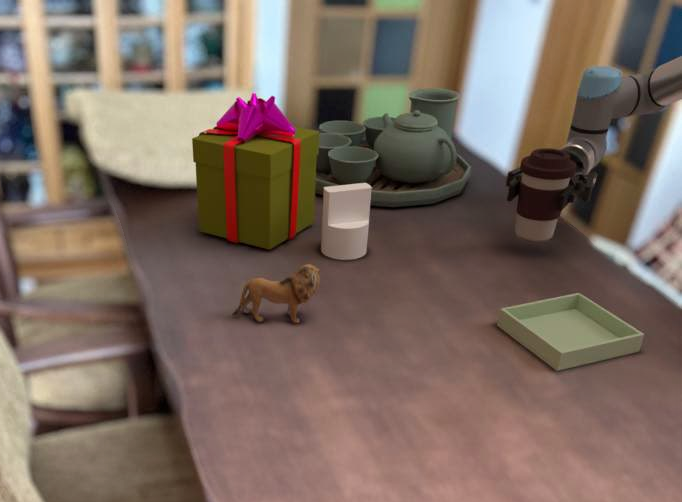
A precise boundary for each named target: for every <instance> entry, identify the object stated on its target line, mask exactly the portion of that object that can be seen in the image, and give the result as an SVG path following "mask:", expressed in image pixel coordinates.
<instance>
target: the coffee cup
mask: <svg viewBox="0 0 682 502" xmlns="http://www.w3.org/2000/svg"><path fill="white" fill-rule="evenodd" d="M519 167H520V170H521V172H523V173H522V179H521V180H520V186H519V194H518V195H517V201H516V210H515V211H516V218H515V228H514V234H515V235H516V236H517V237H518V238H520V239H522V240H525V241H530V242H545V241H549V240H550V239H552V238H553V236H554V233H555V231H556V227H557V224H558V220H559V218H560V216H561V214H562V211H558V210H557V209H558V205H559V201H560V196H561V195H562V194H563V193H564V192H565V191H566V189H568V187H569V180H570V177H572V176H574V174H575V171H576V167H577V166H576V163H575V162H574V161H572V160H570V155H569V154H568V153H567V152H565V151H562V150H560V149H558V148H546V147H545V148H537V149H534V150H532V151H531V153H530V154H529V155H527V156H525V157H523V158H522V159H521V161H520V166H519Z"/></svg>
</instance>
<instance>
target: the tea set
mask: <svg viewBox="0 0 682 502" xmlns="http://www.w3.org/2000/svg"><path fill="white" fill-rule="evenodd" d="M408 99H409V100H410V109H409V112H404V113H401V114H399V115H397V116H396V117H394V116H393V117H392V116H390V115H389V113H388V112H385V113H384V114H383V115H382V116H374V117H369V118H366V119H364V120H363V121H362V123H359V122H358V121H351V120H330V121H325V122H323V123H320V124H319V126H318V127H319V128H318V129H319V130H318V131H319V154H318V155H317V156H316V182H315V194H318V195H321V196H323V195H324V187H330V186H339V185H349V184H358V183H367V184H369V185H370V186H371V187H372V190H371V202H370V207H371V206H373V207H385V208H399V207H400V208H402V207H410V206H411V207H412V206H423V205H432V204H435V203H438V202H441V201H444V200H446V199H449V198H452V197H455V196H457V195H460V194H461V193H462V192H463V190H464V187H465V185H466V184H467V182H468V180H469V178H470V176H471V172H472V166H471V165H470V164H469V163H468V162H467V161H466V160H465V159H464V158H463V157H462V156H461V155H460V154H459V153H457V149H456V145H455V144H454V142H453V139H452V138H453V133H454V125H455V119H456V111H457V104H458V101H459V100H460V99H461V95H460V93H459V92H457V91H454V90H450V89H446V88H438V87H437V88H436V87H424V88H417V89H413V90H411V91H410V92H409V96H408ZM364 134H365V137H364Z"/></svg>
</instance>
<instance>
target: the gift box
mask: <svg viewBox="0 0 682 502" xmlns="http://www.w3.org/2000/svg"><path fill="white" fill-rule="evenodd" d="M275 101H276V96H274V95H271V96H270V97H269V98H268V99H267V100H265V99H264V98H261V97H258V96H257V93H256V92H252V94H251V97H250V99H249V100H247V102H246V101H245V100H243V99H242V98H241V97H240V96H237V97H236V98H235V101H234V103H232V105H231V106H230V107H229V108H228V109H227V110H226V111H225V113H224V114H223V115H222V116H221V117H220V118H219V119H218V121H217V122H215V123H216V124H215V125H216V126H214V127H213V128H208V129H206V130H204V131H201V132H199V134H198V135H197V136H195V137H193V138H191V143H192V159H193V160H192V161H193V163H195V179H196V181H195V182H196V198H197V217H198V218H197V219H198V231H199V232H201V233H204V234H209V235H212V236H216V237H220V238H224V239H227V241H228V242H232V243H235V244H241V243H243V244H246V245H250V246H253V247H258V248H262V249H265V250H272V249H273V248H275V247H277V246H278V245H280V244H282V243H283V242H285V241H290V240H291V239H293V238H295V237H296V235H297V234H298V233H299V232H301V231H302V230H304V229H306V228H307V227H309V226H310V225H312V224H314V223H315V207H316V205H315V204H316V192H315V182H316V156H317V155H318V154H319V133H320V130H315V129H309V128H304V127H299V126H294V125H293V124H292V123H291V122H290V120H289V119H288V118H287V117H286V116H285V114H284V113H283V111H282V110H281V109H280V108H279V106H278V105H277V104H276V103H275Z"/></svg>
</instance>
